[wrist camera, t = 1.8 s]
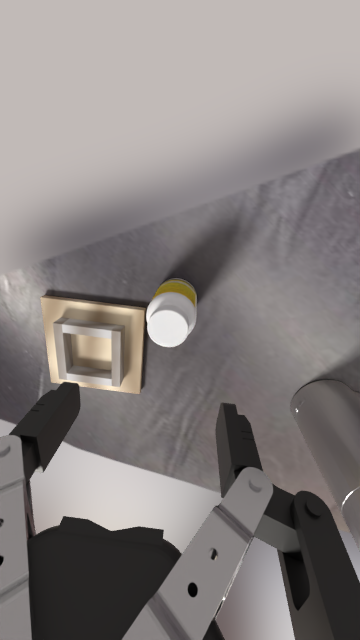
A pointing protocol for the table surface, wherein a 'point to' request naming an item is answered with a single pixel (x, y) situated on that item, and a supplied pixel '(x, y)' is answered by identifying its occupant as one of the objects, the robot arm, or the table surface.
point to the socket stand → (94, 343)
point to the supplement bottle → (172, 312)
